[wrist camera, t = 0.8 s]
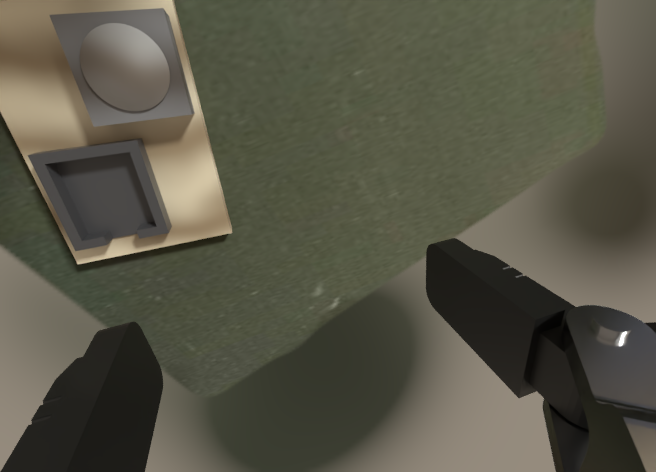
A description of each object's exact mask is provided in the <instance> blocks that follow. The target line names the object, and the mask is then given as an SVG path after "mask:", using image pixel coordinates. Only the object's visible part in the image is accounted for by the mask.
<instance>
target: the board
mask: <svg viewBox="0 0 656 472" xmlns="http://www.w3.org/2000/svg"><path fill="white" fill-rule="evenodd" d="M0 112H1V114H2V116H3V118H4V120H5V122H6V124H7V126H8V128H9V130H10V132H11V134H12V136H13V138H14V140H15V142H16V144H17V145H18V147H19V149H20V151H21V153H22V155H23V157H24V159H25V161H26V163H27V165H28V167H29V169H30V171H31V173H32V175H33V177H34V179H35V181H36V183H37V185H38V187H39V189H40V191H41V193H42V195H43V197H44V199H45V201H46V203H47V205H48V207H49V209H50V211H51V213H52V215H53V217H54V218H55V220H56V222H57V224H58V226H59V228H60V230H61V232H62V234H63V236H64V238H65V240H66V242H67V244H68V246H69V248H70V250H71V252H72V254H73V256H74V258H75V260H76V262H77V264H83V263H88V262H92V261H97V260H102V259H107V258H112V257H117V256H122V255H127V254H132V253H137V252H141V251H146V250H151V249H156V248H161V247H166V246H171V245H176V244H181V243H186V242H190V241H195V240H200V239H205V238H210V237H215V236H220V235H225V234H230V233H232V226H231V222H230V218H229V215H228V211H227V207H226V203H225V199H224V195H223V191H222V187H221V183H220V179H219V176H218V172H217V168H216V164H215V160H214V156H213V152H212V148H211V144H210V140H209V137H208V133H207V129H206V125H205V121H204V117H203V113H202V109H201V105H200V101H199V98H198V94H197V90H196V86H195V82H194V78H193V74H192V70H191V66H190V62H189V58H188V55H187V51H186V47H185V43H184V39H183V35H182V31H181V27H180V23H179V19H178V16H177V12H176V8H175V4H174V0H0ZM138 138H142V140H143V143H144V146H145V149H146V152H147V155H148V158H149V161H150V164H151V167H152V169H153V172H154V175H155V178H156V181H157V184H158V187H159V190H160V193H161V196H162V199H163V202H164V204H165V207H166V210H167V213H168V216H169V219H170V222H171V225H172V227H171V230H170V232H169V233H166V234H161V235H156V236H151V237H146V238H141V239H139V237H138V234H133V235H128V236H123V237H118V238H113V239H112V240H111V241H110V243H109V244H108V245H105V246H100V247H95V248H90V249H85V250H80V251H75V249H74V247H73V245H72V243H71V241H70V239H69V237H68V235H67V233H66V231H65V229H64V227H63V225H62V223H61V221H60V219H59V217H58V215H57V213H56V211H55V209H54V207H53V205H52V203H51V201H50V199H49V197H48V195H47V193H46V191H45V189H44V187H43V185H42V183H41V181H40V179H39V177H38V175H37V173H36V171H35V169H34V167H33V165H32V163H31V161H30V159H29V157H28V155H30V154H34V153H37V152H43V151H50V150H57V149H65V148H72V147H79V146H87V145H94V144H101V143H109V142H116V141H123V140H131V139H138Z"/></svg>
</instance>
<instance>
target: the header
mask: <svg viewBox="0 0 656 472" xmlns="http://www.w3.org/2000/svg"><path fill="white" fill-rule="evenodd" d="M28 157H29V159H30V161H31V163H32V165H33V167H34V169H35V171H36V173H37V175H38V177H39V179H40V181H41V183H42V185H43V187H44V189H45V191H46V193H47V195H48V197H49V199H50V201H51V203H52V205H53V207H54V209H55V211H56V213H57V215H58V217H59V219H60V221H61V223H62V225H63V227H64V229H65V231H66V233H67V235H68V237H69V239H70V241H71V243H72V245H73V247H74V249H75V251H80V250H85V249H90V248H95V247H100V246H105V245H108V244H109V243H110V241H111V240H112V239H113V238H118V237H123V236H128V235H133V234H138V237H139V239H141V238H146V237H151V236H156V235H161V234H166V233H169V232H170V230H171V227H172V225H171V222H170V219H169V216H168V213H167V210H166V207H165V204H164V202H163V199H162V196H161V193H160V190H159V187H158V184H157V181H156V178H155V175H154V172H153V169H152V167H151V164H150V161H149V158H148V155H147V152H146V149H145V146H144V143H143V140H142V138H138V139H131V140H123V141H116V142H109V143H101V144H94V145H87V146H79V147H72V148H65V149H57V150H50V151H43V152H37V153H34V154H30V155H28Z"/></svg>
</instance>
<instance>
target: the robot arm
mask: <svg viewBox="0 0 656 472" xmlns="http://www.w3.org/2000/svg"><path fill="white" fill-rule="evenodd" d="M426 292H427V296H428V298H429V301H430V303H431V305H432V306H433V307H434V309H435V310H436V311H437V312H438V313H439V314H440V315H441V316H442V317H443V318H444V319H445V321H447V323H449V325H450V326H451V327H452V328H453V329H454V330H455V331H456V332H457V333H458V334H459V335H460V336H461V337H462V339H463V340H464V341H465V342H466V343H467V344H468V345H469V346H470V347H471V348H472V349H473V350H474V351H475V352H476V353H477V354H478V355H479V357H480V358H481V359H482V360H483V361H484V362H485V363H486V364H487V365H488V366H489V367H490V368H491V369H492V370H493V371H494V372H495V373H496V375H497V376H498V377H499V378H500V379H501V380H502V381H503V382H504V383H505V384H506V385H507V386H508V387H509V388H510V389H511V390H512V392H514V394H515V395H516V396H517V397H518V398H521V397H523V396H526V395H528V394H531V393H533V392H536V391H538V393H539V394H541V395H542V396H543V397H544V401H543V413H544V418H545V422H546V427H547V432H548V437H549V441H550V446H551V451H552V456H553V461H554V466H555V470H556V472H656V323H655V322H654V323H644V322H642V321H641V320H639V319H637V318H636V317H634V316H632V315H629V314H627V313H625V312H622V311H619V310H616V309H613V308H609V307H604V306H597V305H583V306H578V307H575V306H574V305H572V304H570V303H569V302H567V301H565V300H564V299H562V298H561V297H559V296H557V295H556V294H554V293H553V292H551V291H550V290H548V289H546V288H545V287H543V286H541V285H540V284H538V283H537V282H535V281H534V280H532V279H530V278H529V277H527V276H523V275H522V273H521V272H519V271H517V270H516V269H514V268H510V266H509V265H508V264H506V263H505V262H503V261H501V260H499V259H498V258H497V257H495V256H492V255H490V254H487V253H484V252H481V251H478V250H473V249H472V248H470V247H469V246H467V245H466V244H464V243H463V242H461V241H459V240H458V239H455V238H453V239H449V240H445V241H441V242H437V243H434V244H430V245H429V246H428V248H427V257H426ZM162 390H163V376H162V371H161V368H160V365H159V363H158V361H157V359H156V357H155V355H154V353H153V351H152V349H151V347H150V345H149V343H148V341H147V339H146V337H145V335H144V333H143V331H142V329H141V327H140V326H139V325H138V324H137V323H136V322H130V323H126V324H122V325H119V326H115V327H111V328H107V329H103V330H100V331H98V332H97V333H96V335H95V336H94V338H93V340H92V341H91V343H90V345H89V347H88V349H87V351H86V353H85V355H84V356H83V357H81V358H77V359H76V360H75V361H74V362H73V363H72V364H71V365H70V366H69V367H68V368H67V369H66V370H65V371H64V372H63V373H62V374H61V375H60V376H59V377H58V378H57V379H56V380H55V382H54V383H53V385H52V386H51V388H50V390H49V392H48V393H47V395H46V397H45V398H44V400H43V405H41V406H40V407H39V408H38V410H37V412H36V413H35V415H34V417H33V419H32V420H31V421H32V424H31V425H28V427H27V429H26V430H25V432H24V434H23V435H22V437H21V438H20V440H19V442H18V443H17V445H16V447H15V448H14V450H13V452H12V454H11V455H10V457H9V459H8V460H7V462H6V464H5V465H4V467H3V469H2V470H1V472H145V468H146V463H147V459H148V454H149V450H150V445H151V440H152V436H153V431H154V427H155V422H156V418H157V413H158V408H159V404H160V400H161V395H162Z"/></svg>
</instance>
